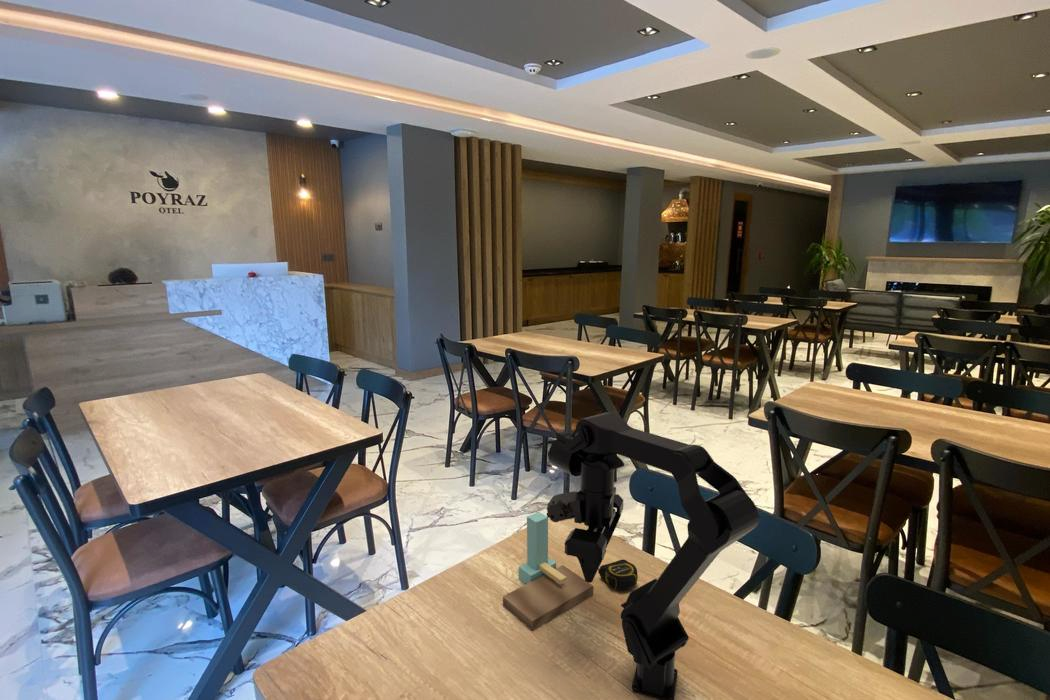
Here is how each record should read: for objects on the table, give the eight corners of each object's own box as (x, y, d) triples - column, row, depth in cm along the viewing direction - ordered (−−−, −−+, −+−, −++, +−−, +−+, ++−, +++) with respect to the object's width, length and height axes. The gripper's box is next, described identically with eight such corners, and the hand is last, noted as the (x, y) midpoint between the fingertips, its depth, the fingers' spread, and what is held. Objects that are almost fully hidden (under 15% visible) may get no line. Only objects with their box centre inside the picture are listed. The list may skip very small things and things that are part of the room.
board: (532, 630, 98) (532, 620, 97) (503, 605, 104) (502, 595, 104) (593, 594, 107) (593, 585, 107) (562, 573, 114) (562, 564, 114)
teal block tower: (550, 603, 105) (550, 539, 102) (518, 579, 112) (518, 518, 110) (575, 589, 109) (576, 526, 106) (543, 566, 117) (543, 507, 114)
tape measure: (624, 570, 115) (625, 554, 115) (643, 588, 109) (644, 572, 108) (597, 578, 113) (598, 562, 112) (615, 597, 107) (616, 581, 106)
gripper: (567, 458, 103) (566, 531, 106) (534, 502, 86) (534, 587, 89) (625, 466, 99) (622, 542, 102) (602, 514, 82) (600, 603, 85)
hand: (595, 566), depth 95 cm, fingers open, 9 cm apart
